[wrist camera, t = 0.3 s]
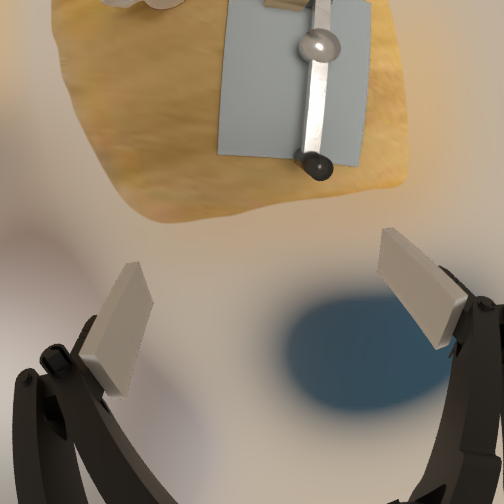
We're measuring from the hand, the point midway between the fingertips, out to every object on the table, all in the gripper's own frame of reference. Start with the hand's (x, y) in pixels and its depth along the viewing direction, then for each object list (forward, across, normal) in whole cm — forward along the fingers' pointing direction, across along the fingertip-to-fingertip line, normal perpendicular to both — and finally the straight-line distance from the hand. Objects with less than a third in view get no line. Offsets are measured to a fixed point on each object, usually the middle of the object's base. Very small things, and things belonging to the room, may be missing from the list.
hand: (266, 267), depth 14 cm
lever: (+22, +10, +13) cm, 27 cm away
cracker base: (+23, +8, +14) cm, 28 cm away
